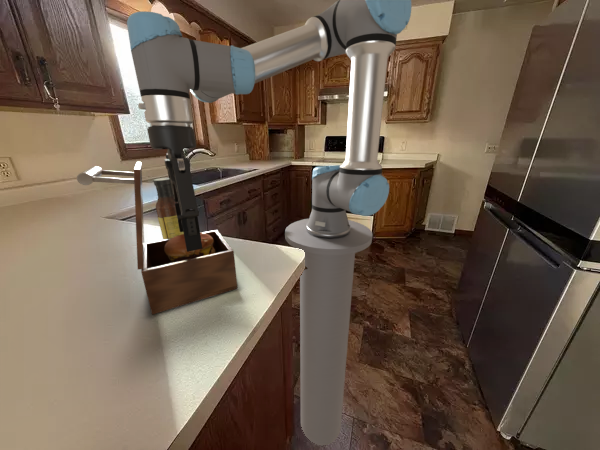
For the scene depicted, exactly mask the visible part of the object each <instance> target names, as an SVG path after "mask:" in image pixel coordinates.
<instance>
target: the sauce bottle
mask: <svg viewBox="0 0 600 450" xmlns="http://www.w3.org/2000/svg"><path fill="white" fill-rule="evenodd" d="M153 185H154V187H155V189H156V193H157V195H156V196H157V201H156V203H155V210H156V214H157V220H158V224H159V228H160V232H161V236H162V240H164V239H169V238H173V237H176V236H179V235H182V234H184V233H183V232H180V230H179V224H178V219H177V213H176V208H175V203H177V202H175V201H174V197H173V195H172V194H173V192H172V185H171V179H169V177H161V178H155V179H153Z"/></svg>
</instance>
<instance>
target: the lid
mask: <svg viewBox="0 0 600 450" xmlns="http://www.w3.org/2000/svg"><path fill="white" fill-rule="evenodd" d="M103 175H105V176H103ZM109 176H122V177H123V178H122V177H109ZM125 177H133V178H125ZM76 181H77V183H79V184H80V185H82V186H90V185H92V184H93V183H107V184H124V185H126V184H128V185H133V186H134V187H133V188H134V211H135V212H134V213H135V215H134V216H135V236H136V237H135V238H136V239H135V240H136V261H137V264H136V265H137V270H141V269H143V264H144V243H145V231H144V230H145V229H144V200H143V196H144V195H143V167H142V162H141V161H136V163H135V164H134V168H133V172H132V171H121V170H109V169H107V170H106V169H102V167H100V166H97V165H94V166H93V165H92V166H91V167H89V168H87V169H86V170H84V171H82V172H80V173H78V175H76Z"/></svg>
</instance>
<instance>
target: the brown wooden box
mask: <svg viewBox="0 0 600 450" xmlns="http://www.w3.org/2000/svg"><path fill="white" fill-rule="evenodd" d="M201 233H205V234H208V235H210V236H211V237H212V238H213V240H214V242H213V247H214V249H215V253H214V254H210V255H205V256H201V257H197V258H192V259H188V260H183V261H179V262H172V261H171V260H170V259H169V257H168V255H167V254H166V253H165V245H166V243H167V242H168V241H169V240H170V239H172V238H169V239H164V240H163V239H159V240H153V241H148V242H144V264H143V269H140V271H141V277H142V280H143V284H144V288H145V292H146V297H147V299H148V300H147V301H148V304H149V308H150V312H151V315H155V314H160V313H162V312H166V311H169V310H172V309H175V308H178V307H181V306H185V305H188V304H192V303H195V302H199V301H201V300H204V299H205V300H206V299H209V298H212V297H214V296H218V295H221V294H225V293H228V292H231V291H234V290H237V289H239V287H238V279H237V270H236V269H237V268H236V259H235V251H234V249H233V248H232V246H231V245H230V244H229V243H228V241H227V240H226V238H225V237H223V235H222V234H221V232H220V231H219V230H218V229H214V230H209V231H203V232H201Z"/></svg>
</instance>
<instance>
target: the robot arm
mask: <svg viewBox="0 0 600 450" xmlns="http://www.w3.org/2000/svg"><path fill="white" fill-rule="evenodd" d="M411 16H412V0H336V1H335V2H334V3H333V4H331V5H330V6H329V7H328V8H326V9H325V10H323V11H321V12H320V13H318V14H317V15H314V16H311V17H309V18H308V19H307V20H306V22H305V24H304V25H301V26H298V27H296V28H292V29H290V30H287V31H285V32H281V33H279V34H276V35H274V36H271V37H267V38H265V39H262V40H260V41H257V42H255V43H252V44H249V45H246V46H243V47H237V46H235V45H232V44H231V45H225V44H222V43H221V44H220V43H213V42H207V41H201V40H195V39H189V38H187V37H183V33H182V32H181V28H180V25H179V24H178V23H177V22H176V21H175V19H173V18H171V17H169V16H166V15H163V14H162V13H159V12H155V11H154V12H153V11H146V10H145V11H144V10H143V11H136V12H133V13H131V14H130V15H129V16H128V18H127V21H126V27H127V33H128V40H129V46H130V53H131V58H132V63H133V67H134V70H135V77H136V82H137V85H138V89H139V90H138V91H139V94H140V97H141V102H139V103H138V105H137V107H138V109H139V110H143V111H144V113H143V114H144V118H145V122H147V123H148V124H150V126H147V129H146V131H147V135H148V141H149V145H150V147H151V149H153V150H167V151H166V155H165V158H164V159H163V161H164V166H165V169H166V170H167V175H168V178H169V179H171V185H172V192H173V194H172V195H173V197H174V201H175V202H177V203H175V208H176V213H177V219H178V224H179V230H180V232H183V233H184V238H185V244H186V249H187V252H189V251H194V250H198V249H203V248H202V242H201V235H200V233H201V229H200V223H199V216H200V211H199V208H198V203H197V199H196V198H197V197H196V193H195V189H194V182H193V176H192V171H191V161H190V159H189V158H188V157H186V156H185V152H184V150H186V149H190V150H191V149H195V148H196V147H197V140H196V133H195V128H193V126H191V124H193V123H194V117H193V110H192V102H191V98H190V93H191V94H192V95H193V97H195V99H197V100H198V101H200V102H203V103H206V104H207V103H208V104H209V103H210V104H212V103H214V102H217V101H219V100H220V99H221V98H222V99H223V98H224V97H226V96H229V95H231V94H233V95H236V96H239V95H249V94H250V93H252V91H253V90H254V87H255V84H257V83H260V82H262V81H264V80H266V79H270V78H272V77H274V76H276V75H279V74H282V73H284V72H286V71H288V70H290V69H293V68H295V67H298V66H300V65H303V64H305V63H308V62H310V61H312V60H313V61H315V62H321V61H324V60H326V59H329V58H332V57H336V56H341V55H346V56H347V57H348V58H349V59H350V61H351V62H350V75H349V76H350V78H349V93H348V111H347V126H346V127H347V128H346V145H345V147H346V148H345V159H344V161H343V162H342V163H340V164H337V165H322V166H315V167H314V168H313V170H312V174H311V181H312V184H311V189H312V190H311V192H312V193H311V212H310V215H309V217H308V219H309V221H308V223H307V232H308V233H309V234H310V235H312V236H314V237H318V238H323V239H337V238H342V237H345V236H347V235H348V234H349V233H350V225H349V222H348V220H349V219H348V214H347V212H349V213H351V214H353V215H359V216H362V217H369V216H372V215H374V214H376V213H377V212H379V211H380V210H381V208H383V206H384V205H385V204H386V202H387V199H388V197H389V194H390V183H389V182H388V179H387V178H386V177H385V176H384V175H382V174H383V166H382V164H381V163H380V162H379V161H378V156H379V146H380V135H381V125H382V116H383V109H384V108H383V107H384V98H385V90H386V89H385V87H386V78H387V68H388V59H389V57H390V56H391V55H392V54H393V53H394V52H395V51H396V45H397V40H398V39H397V38H398V36H397V35H398V34H401V33H402V32H403V31H404V30H405V29H406V27H407V26H408V25H409V22H410V19H411Z"/></svg>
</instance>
